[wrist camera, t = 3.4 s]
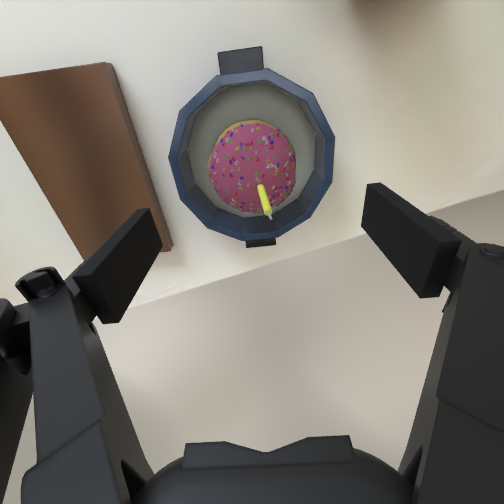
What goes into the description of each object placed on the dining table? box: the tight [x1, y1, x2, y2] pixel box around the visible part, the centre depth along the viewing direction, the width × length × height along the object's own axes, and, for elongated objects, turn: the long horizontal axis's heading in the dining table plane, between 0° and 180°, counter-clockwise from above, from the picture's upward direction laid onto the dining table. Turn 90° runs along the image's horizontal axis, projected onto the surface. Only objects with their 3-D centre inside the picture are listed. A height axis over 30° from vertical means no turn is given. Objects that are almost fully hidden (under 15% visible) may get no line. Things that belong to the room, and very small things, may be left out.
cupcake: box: [208, 120, 296, 220], centre depth 23 cm, size 9×8×12 cm
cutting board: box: [0, 62, 173, 260], centre depth 28 cm, size 12×20×2 cm, turn 6°
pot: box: [168, 46, 335, 248], centre depth 26 cm, size 16×19×4 cm
